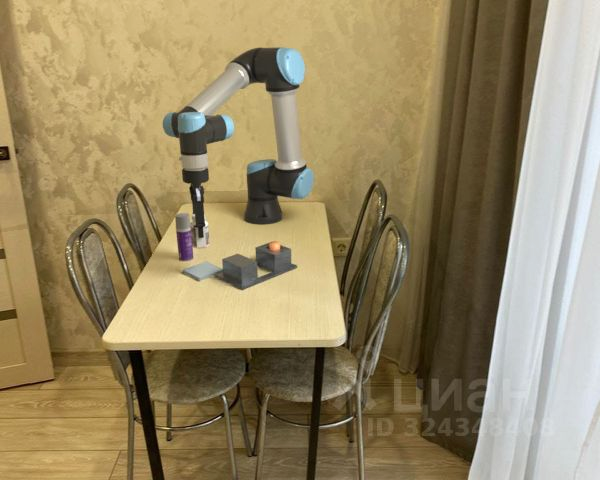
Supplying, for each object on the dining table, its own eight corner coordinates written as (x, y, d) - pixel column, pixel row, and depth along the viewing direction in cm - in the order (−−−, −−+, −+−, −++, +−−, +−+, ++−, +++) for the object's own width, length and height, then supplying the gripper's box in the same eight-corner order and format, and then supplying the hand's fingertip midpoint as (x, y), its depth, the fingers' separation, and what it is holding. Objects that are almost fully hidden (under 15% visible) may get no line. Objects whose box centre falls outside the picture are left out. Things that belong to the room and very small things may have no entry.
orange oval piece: (275, 255, 174) (274, 240, 172) (282, 258, 171) (282, 243, 170) (267, 258, 171) (266, 243, 170) (274, 261, 169) (274, 246, 167)
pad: (206, 264, 174) (206, 261, 173) (223, 272, 168) (223, 269, 167) (182, 272, 168) (182, 269, 167) (199, 281, 162) (199, 277, 161)
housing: (269, 256, 179) (268, 239, 177) (297, 267, 170) (297, 250, 168) (215, 276, 164) (213, 258, 162) (242, 290, 156) (241, 271, 154)
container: (190, 262, 175) (186, 217, 170) (176, 260, 176) (172, 217, 171) (195, 256, 180) (192, 213, 174) (182, 255, 181) (178, 212, 175)
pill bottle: (188, 247, 163) (185, 216, 160) (199, 241, 168) (196, 211, 164) (202, 250, 161) (200, 218, 158) (213, 244, 166) (211, 213, 162)
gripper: (179, 162, 164) (186, 234, 172) (183, 176, 147) (190, 255, 155) (205, 160, 165) (209, 232, 173) (211, 174, 149) (216, 253, 157)
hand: (200, 243), depth 164 cm, fingers closed on pill bottle, 5 cm apart
